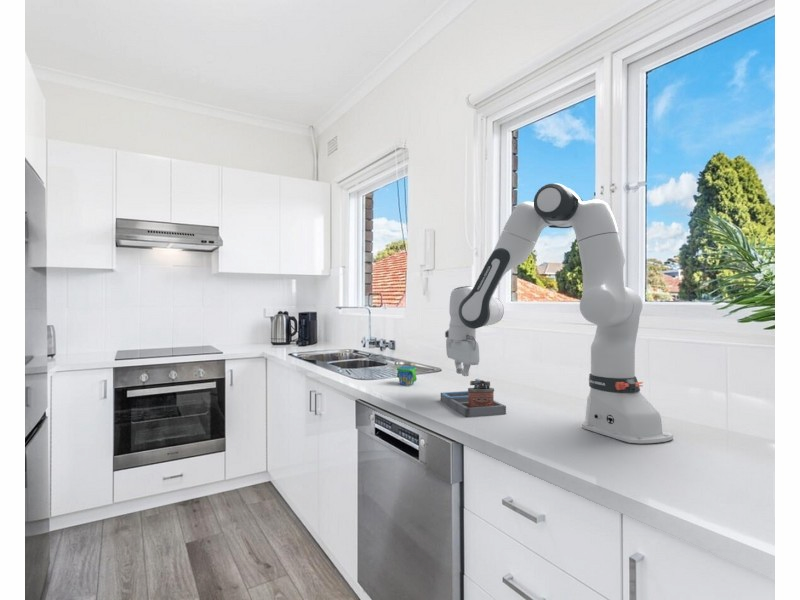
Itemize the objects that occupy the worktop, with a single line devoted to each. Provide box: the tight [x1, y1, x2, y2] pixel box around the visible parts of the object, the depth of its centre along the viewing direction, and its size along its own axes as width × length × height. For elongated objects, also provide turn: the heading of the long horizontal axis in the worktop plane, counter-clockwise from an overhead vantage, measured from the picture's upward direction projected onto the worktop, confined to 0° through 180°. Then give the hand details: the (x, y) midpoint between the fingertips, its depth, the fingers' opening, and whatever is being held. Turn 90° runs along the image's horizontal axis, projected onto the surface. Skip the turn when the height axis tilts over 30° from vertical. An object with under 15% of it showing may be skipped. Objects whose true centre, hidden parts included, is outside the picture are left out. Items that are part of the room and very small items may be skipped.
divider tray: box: [440, 378, 507, 418], centre depth 147 cm, size 22×14×7 cm, turn 15°
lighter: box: [467, 379, 495, 408], centre depth 140 cm, size 8×3×10 cm, turn 91°
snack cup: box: [396, 365, 418, 387], centre depth 184 cm, size 11×8×7 cm
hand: (462, 374), depth 153 cm, fingers open, 4 cm apart
